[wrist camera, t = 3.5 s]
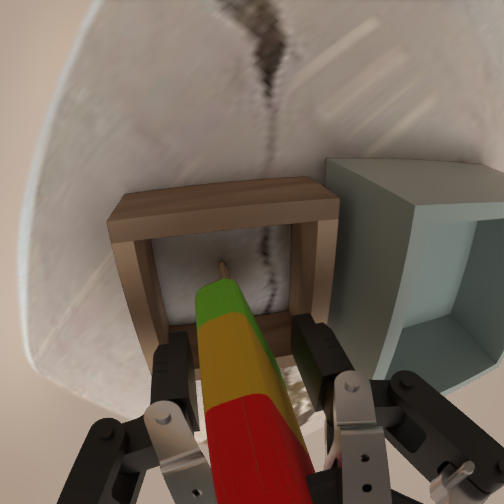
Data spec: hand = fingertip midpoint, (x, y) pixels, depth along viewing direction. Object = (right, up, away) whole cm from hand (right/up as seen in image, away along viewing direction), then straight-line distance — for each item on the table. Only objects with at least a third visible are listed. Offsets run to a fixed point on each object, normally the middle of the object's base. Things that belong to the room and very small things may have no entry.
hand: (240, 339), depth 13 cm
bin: (+12, +3, +8) cm, 14 cm away
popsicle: (-1, +3, +6) cm, 7 cm away
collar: (-1, +3, +6) cm, 6 cm away
